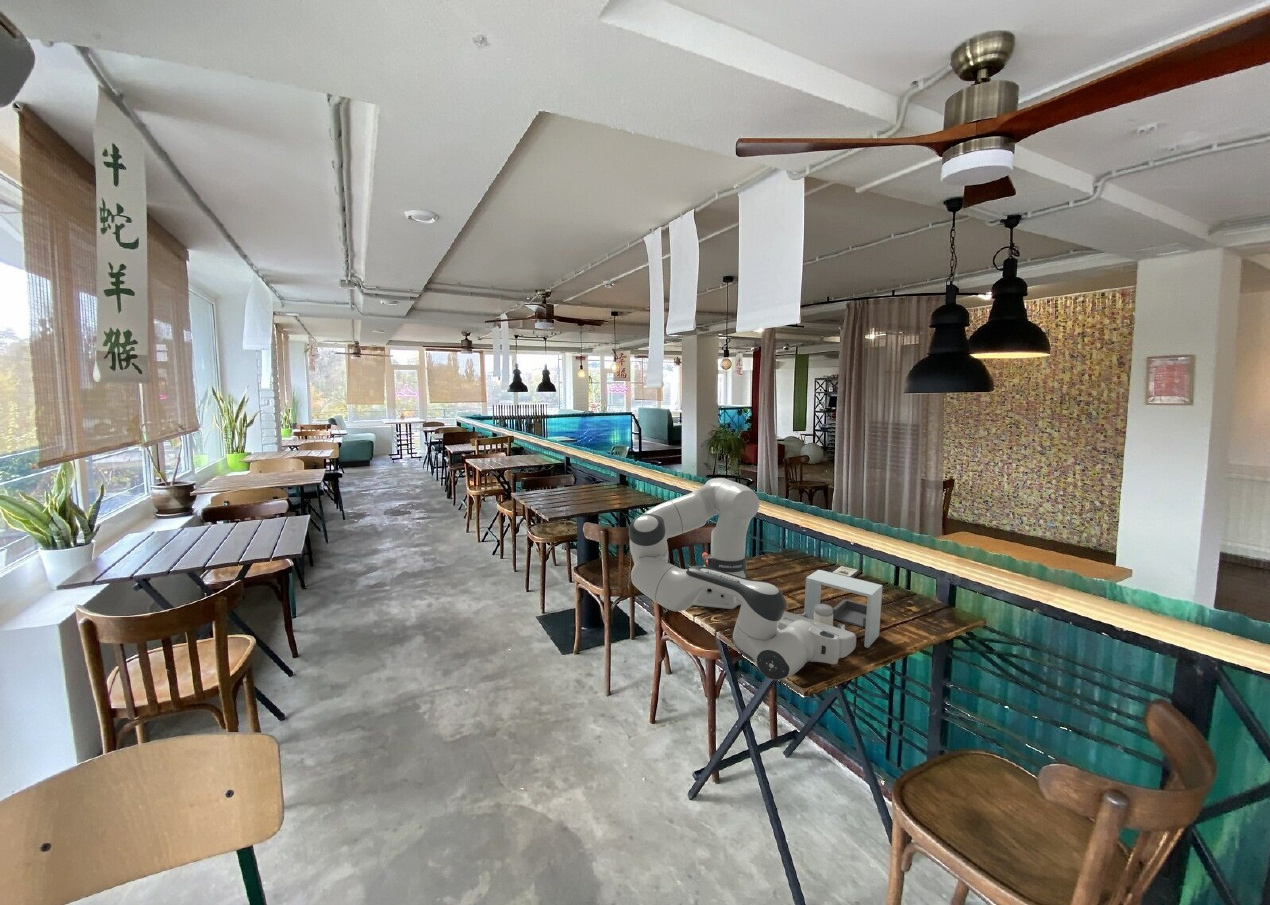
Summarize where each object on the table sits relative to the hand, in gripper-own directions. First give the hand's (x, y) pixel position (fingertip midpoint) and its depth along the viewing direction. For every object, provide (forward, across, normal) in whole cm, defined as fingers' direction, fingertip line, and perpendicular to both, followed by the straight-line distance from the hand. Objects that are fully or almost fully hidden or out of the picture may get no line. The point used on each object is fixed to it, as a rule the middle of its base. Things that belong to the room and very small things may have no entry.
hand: (824, 621), depth 135 cm
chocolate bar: (+57, -16, -8) cm, 59 cm away
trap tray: (+24, 0, -7) cm, 25 cm away
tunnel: (+13, 0, -7) cm, 15 cm away
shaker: (-1, 0, -7) cm, 7 cm away
